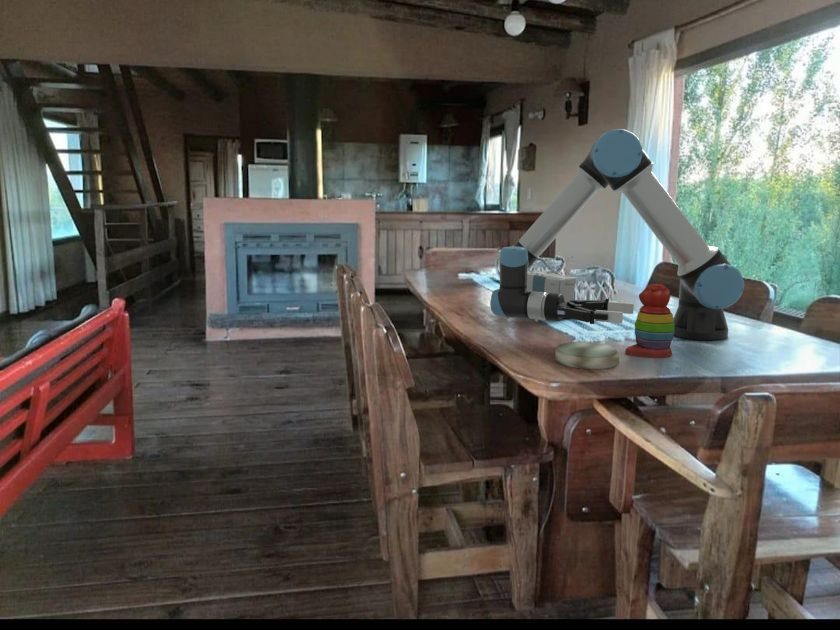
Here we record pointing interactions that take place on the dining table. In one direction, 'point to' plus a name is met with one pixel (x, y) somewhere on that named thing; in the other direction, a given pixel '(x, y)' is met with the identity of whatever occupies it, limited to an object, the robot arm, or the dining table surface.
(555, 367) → the dining table surface
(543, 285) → the stereo radio cassette player
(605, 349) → the stand
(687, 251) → the robot arm
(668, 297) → the stacking bear
